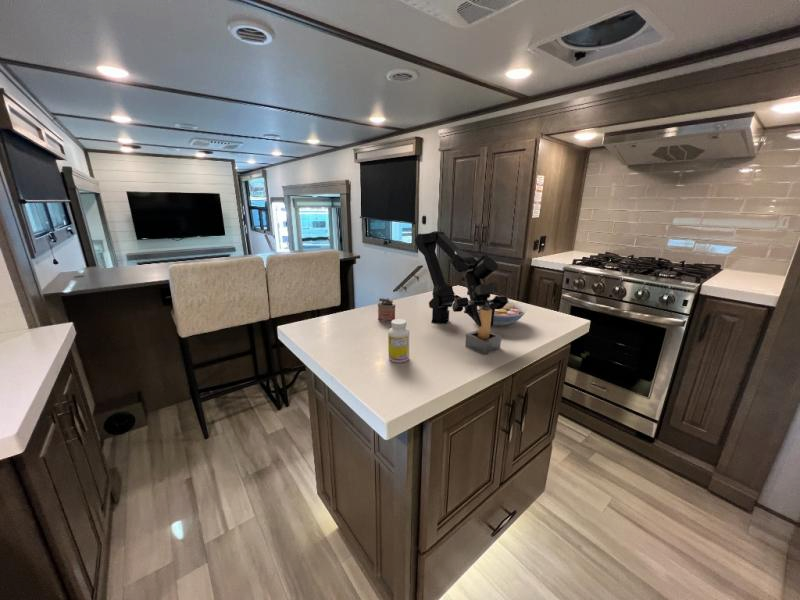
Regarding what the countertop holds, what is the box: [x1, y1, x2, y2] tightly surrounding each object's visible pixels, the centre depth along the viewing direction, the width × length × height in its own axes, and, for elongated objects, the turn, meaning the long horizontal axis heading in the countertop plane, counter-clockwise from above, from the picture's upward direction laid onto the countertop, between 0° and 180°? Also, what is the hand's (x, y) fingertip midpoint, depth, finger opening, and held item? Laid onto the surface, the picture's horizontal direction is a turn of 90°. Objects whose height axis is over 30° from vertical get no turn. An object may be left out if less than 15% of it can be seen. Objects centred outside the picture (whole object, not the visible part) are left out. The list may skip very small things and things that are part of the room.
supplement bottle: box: [387, 318, 410, 364], centre depth 99 cm, size 7×7×13 cm
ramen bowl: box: [477, 298, 527, 327], centre depth 131 cm, size 25×23×8 cm
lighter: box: [377, 297, 396, 324], centre depth 132 cm, size 8×3×10 cm, turn 65°
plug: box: [477, 302, 492, 340], centre depth 107 cm, size 4×4×15 cm
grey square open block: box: [465, 329, 502, 356], centre depth 109 cm, size 8×8×4 cm
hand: (486, 325), depth 106 cm, fingers closed on plug, 4 cm apart
